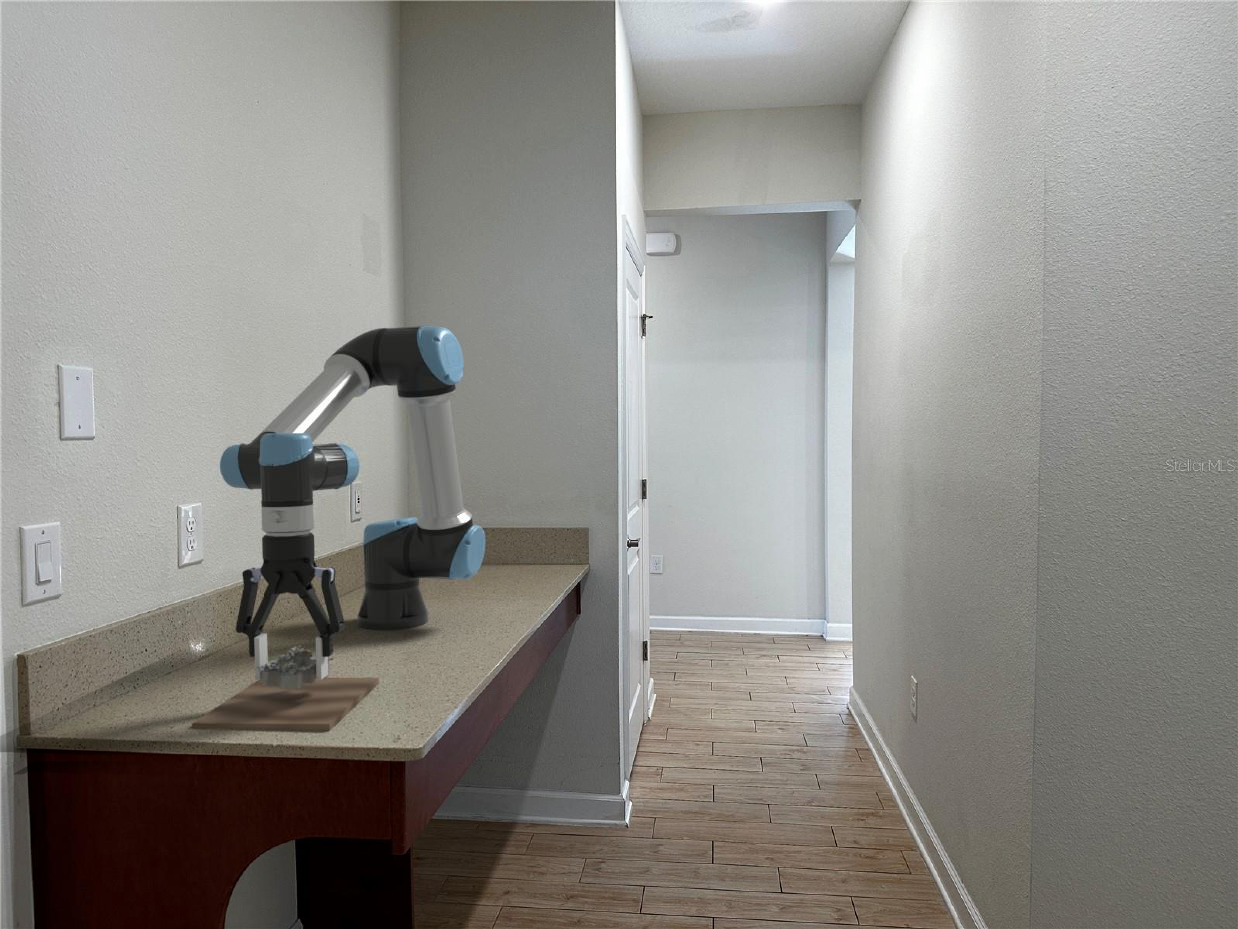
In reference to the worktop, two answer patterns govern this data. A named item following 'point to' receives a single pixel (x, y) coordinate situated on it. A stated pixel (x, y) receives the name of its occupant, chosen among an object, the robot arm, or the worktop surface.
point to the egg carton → (291, 669)
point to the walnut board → (290, 706)
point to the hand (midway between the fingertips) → (292, 677)
